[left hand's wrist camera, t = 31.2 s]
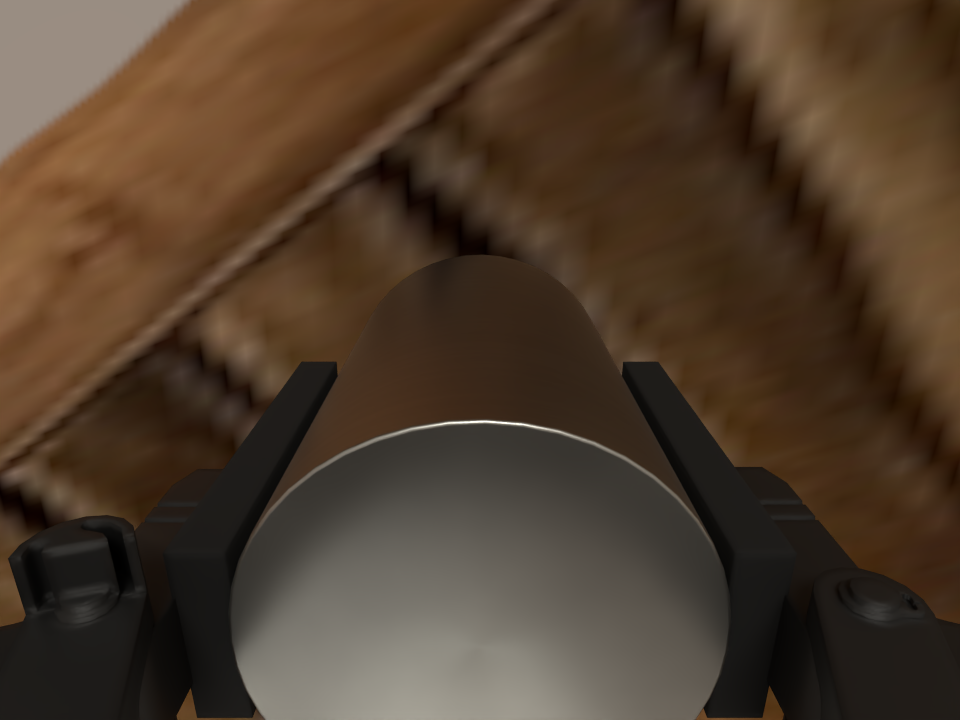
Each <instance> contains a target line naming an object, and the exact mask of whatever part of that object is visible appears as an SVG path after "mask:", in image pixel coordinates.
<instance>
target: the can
mask: <svg viewBox="0 0 960 720" xmlns="http://www.w3.org/2000/svg"><path fill="white" fill-rule="evenodd" d="M730 628H731V609H730V594H729V589H728V585H727V580H726V576H725V571H724V568H723V565H722V563H721V560H720V558H719V556H718V553H717V551H716V548H715V546H714V543H713V541H712V540H711V538H710V536H709V534H708V532H707V530H706V529H705V527H704V525H703V523H702V521H701V519H700V518H699V516H698V514H697V512H696V510H695V509H694V507H693V505H692V503H691V501H690V499H689V498H688V496H687V494H686V492H685V490H684V488H683V487H682V485H681V483H680V481H679V479H678V478H677V476H676V474H675V472H674V470H673V468H672V467H671V465H670V463H669V461H668V459H667V457H666V456H665V454H664V452H663V450H662V448H661V447H660V445H659V443H658V441H657V439H656V437H655V436H654V434H653V432H652V430H651V428H650V426H649V425H648V423H647V421H646V419H645V417H644V415H643V414H642V412H641V410H640V408H639V406H638V405H637V403H636V401H635V399H634V397H633V395H632V394H631V392H630V390H629V388H628V386H627V384H626V383H625V381H624V379H623V377H622V375H621V374H620V372H619V370H618V368H617V366H616V364H615V363H614V361H613V359H612V357H611V355H610V353H609V352H608V350H607V348H606V346H605V344H604V343H603V341H602V339H601V337H600V335H599V333H598V332H597V330H596V328H595V326H594V324H593V322H592V321H591V319H590V317H589V316H588V314H587V312H586V311H585V309H584V307H583V306H582V305H581V303H580V302H579V301H578V300H577V299H576V297H575V296H574V295H573V294H572V293H571V292H570V291H569V290H568V289H567V288H566V287H565V286H564V285H563V284H561V283H560V282H559V281H557V280H556V279H555V278H553V277H552V276H550V275H549V274H547V273H545V272H544V271H542V270H540V269H538V268H536V267H534V266H532V265H529V264H526V263H523V262H521V261H518V260H514V259H510V258H505V257H501V256H490V255H469V256H461V257H455V258H449V259H446V260H443V261H439V262H436V263H433V264H431V265H429V266H426V267H424V268H422V269H420V270H418V271H416V272H415V273H413V274H411V275H410V276H408V277H407V278H405V279H404V280H402V281H401V282H400V283H399V284H398V285H397V286H395V287H394V288H393V289H392V290H391V291H390V292H389V293H388V294H387V295H386V296H385V297H384V299H383V300H382V301H381V302H380V303H379V305H378V306H377V308H376V309H375V311H374V312H373V314H372V315H371V317H370V319H369V321H368V322H367V324H366V326H365V328H364V330H363V331H362V333H361V335H360V337H359V339H358V341H357V342H356V344H355V346H354V348H353V350H352V351H351V353H350V355H349V357H348V359H347V361H346V362H345V364H344V366H343V368H342V370H341V371H340V373H339V375H338V377H337V379H336V381H335V382H334V384H333V386H332V388H331V390H330V391H329V393H328V395H327V397H326V399H325V401H324V402H323V404H322V406H321V408H320V410H319V411H318V413H317V415H316V417H315V419H314V420H313V422H312V424H311V426H310V428H309V430H308V431H307V433H306V435H305V437H304V439H303V440H302V442H301V444H300V446H299V448H298V450H297V451H296V453H295V455H294V457H293V459H292V460H291V462H290V464H289V466H288V468H287V470H286V471H285V473H284V475H283V477H282V479H281V480H280V482H279V484H278V486H277V488H276V490H275V491H274V493H273V495H272V497H271V499H270V500H269V502H268V504H267V506H266V508H265V510H264V511H263V513H262V515H261V517H260V519H259V520H258V522H257V524H256V526H255V528H254V529H253V531H252V533H251V535H250V537H249V539H248V541H247V543H246V546H245V548H244V550H243V552H242V554H241V556H240V558H239V561H238V564H237V568H236V571H235V575H234V579H233V582H232V586H231V594H230V603H229V629H230V642H231V646H232V651H233V655H234V659H235V663H236V667H237V670H238V672H239V674H240V677H241V679H242V682H243V684H244V687H245V689H246V691H247V693H248V695H249V696H250V698H251V700H252V701H253V703H254V705H255V706H256V708H257V710H258V712H259V713H260V714H261V715H262V717H263V718H264V719H265V720H696V718H697V717H698V715H699V714H700V712H701V710H702V709H703V707H704V706H705V704H706V703H707V701H708V700H709V698H710V696H711V694H712V692H713V690H714V688H715V686H716V683H717V681H718V679H719V677H720V675H721V672H722V668H723V665H724V661H725V658H726V654H727V651H728V644H729V636H730Z"/></svg>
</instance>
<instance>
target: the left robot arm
mask: <svg viewBox="0 0 960 720" xmlns="http://www.w3.org/2000/svg"><path fill="white" fill-rule="evenodd" d="M337 377H338V375H337V363H336V362H301V363H300V365H299V366H298V368H297V369H296V370H295V372H294V373H293V374H292V376H291V377H290V379H289V380H288V381H287V383H286V384H285V385H284V387H283V388H282V390H281V391H280V392H279V394H278V395H277V396H276V398H275V399H274V401H273V402H272V403H271V405H270V406H269V407H268V409H267V410H266V412H265V413H264V414H263V416H262V417H261V418H260V420H259V421H258V423H257V424H256V425H255V427H254V428H253V429H252V431H251V432H250V434H249V435H248V436H247V438H246V439H245V440H244V442H243V443H242V445H241V446H240V447H239V449H238V450H237V451H236V453H235V454H234V456H233V457H232V458H231V460H230V461H229V462H228V464H227V465H226V467H225V468H224V469H198V470H196V471H194V472H193V473H191V474H190V475H188V476H186V477H185V478H183V479H182V480H180V481H179V482H177V483H175V484H174V485H173V486H172V487H171V488H170V489H169V491H168V492H167V493H166V494H165V495H164V497H163V498H162V499H161V500H160V501H159V503H158V507H154V509H153V510H152V511H151V512H150V513H149V515H148V516H147V517H146V518H145V523H141V524H140V525H139V527H138V528H137V529H136V530H135V531H134V527H133V525H132V524H130V523H129V522H128V521H126V520H125V519H124V518H119V517H114V516H109V515H102V516H87V517H82V518H78V519H74V520H70V521H66V522H62V523H60V524H57V525H55V526H53V527H50V528H48V529H46V530H43V531H41V532H39V533H37V534H36V535H34V536H33V537H31V538H30V539H28V540H27V541H25V542H24V543H22V544H21V545H20V546H19V547H18V548H17V549H16V550H15V551H14V552H13V554H12V555H11V556H10V557H9V558H8V560H9V563H10V566H11V569H12V572H13V576H14V579H15V582H16V585H17V588H18V591H19V595H20V598H21V601H22V604H23V607H24V610H25V614H26V616H25V618H24V621H22V622H19V623H15V624H11V625H7V626H2V627H0V720H177V716H176V715H177V713H178V711H179V709H180V707H181V706H182V704H183V702H184V700H185V698H186V696H187V694H188V692H189V690H190V688H191V691H192V695H193V700H194V705H195V709H196V714H197V718H252V717H253V715H254V712H255V709H256V706H255V705H254V703H253V701H252V700H251V698H250V696H249V695H248V693H247V691H246V689H245V687H244V684H243V682H242V679H241V677H240V674H239V672H238V670H237V667H236V663H235V659H234V655H233V651H232V646H231V642H230V629H229V603H230V594H231V586H232V582H233V579H234V575H235V571H236V568H237V564H238V561H239V558H240V556H241V554H242V552H243V550H244V548H245V546H246V543H247V541H248V539H249V537H250V535H251V533H252V531H253V529H254V528H255V526H256V524H257V522H258V520H259V519H260V517H261V515H262V513H263V511H264V510H265V508H266V506H267V504H268V502H269V500H270V499H271V497H272V495H273V493H274V491H275V490H276V488H277V486H278V484H279V482H280V480H281V479H282V477H283V475H284V473H285V471H286V470H287V468H288V466H289V464H290V462H291V460H292V459H293V457H294V455H295V453H296V451H297V450H298V448H299V446H300V444H301V442H302V440H303V439H304V437H305V435H306V433H307V431H308V430H309V428H310V426H311V424H312V422H313V420H314V419H315V417H316V415H317V413H318V411H319V410H320V408H321V406H322V404H323V402H324V401H325V399H326V397H327V395H328V393H329V391H330V390H331V388H332V386H333V384H334V382H335V381H336V379H337ZM622 377H623V379H624V381H625V383H626V384H627V386H628V388H629V390H630V392H631V394H632V395H633V397H634V399H635V401H636V403H637V405H638V406H639V408H640V410H641V412H642V414H643V415H644V417H645V419H646V421H647V423H648V425H649V426H650V428H651V430H652V432H653V434H654V436H655V437H656V439H657V441H658V443H659V445H660V447H661V448H662V450H663V452H664V454H665V456H666V457H667V459H668V461H669V463H670V465H671V467H672V468H673V470H674V472H675V474H676V476H677V478H678V479H679V481H680V483H681V485H682V487H683V488H684V490H685V492H686V494H687V496H688V498H689V499H690V501H691V503H692V505H693V507H694V509H695V510H696V512H697V514H698V516H699V518H700V519H701V521H702V523H703V525H704V527H705V529H706V530H707V532H708V534H709V536H710V538H711V540H712V541H713V543H714V546H715V548H716V551H717V553H718V556H719V558H720V560H721V563H722V565H723V568H724V571H725V576H726V580H727V585H728V589H729V594H730V609H731V628H730V636H729V644H728V651H727V654H726V658H725V661H724V665H723V668H722V672H721V675H720V677H719V679H718V681H717V683H716V686H715V688H714V690H713V692H712V694H711V696H710V698H709V700H708V701H707V703H706V704H705V706H704V707H703V708H704V711H705V713H706V716H707V718H762V717H763V712H764V707H765V703H766V698H767V693H768V689H769V685H770V687H771V689H772V691H773V693H774V695H775V697H776V699H777V701H778V703H779V705H780V707H781V709H782V711H783V713H784V716H783V720H960V624H957V623H953V622H948V621H944V620H941V619H937V618H936V617H935V615H934V613H933V612H932V611H931V609H930V608H929V607H928V605H927V604H926V603H925V601H924V600H923V599H922V598H921V597H919V596H918V595H917V594H915V593H914V592H913V591H911V590H910V589H909V588H907V587H906V586H905V585H903V584H900V583H898V582H896V581H894V580H892V579H890V578H888V577H886V576H884V575H881V574H877V573H874V572H870V571H867V570H863V569H859V568H858V567H857V566H856V565H855V563H854V562H853V561H852V560H851V559H850V557H849V556H848V555H847V554H846V553H845V552H844V550H843V549H842V548H841V547H840V546H839V544H838V543H837V542H836V541H835V540H834V538H833V537H832V536H831V535H830V534H829V532H828V531H827V530H826V529H825V528H824V526H823V525H822V524H821V523H820V522H819V521H818V520H815V516H814V515H813V513H812V512H811V511H810V510H809V509H808V507H807V506H806V505H803V504H802V500H801V499H800V498H799V497H798V495H797V494H796V493H795V492H794V491H793V490H792V488H791V487H790V486H789V485H788V484H787V483H786V482H785V481H783V480H782V479H780V478H778V477H777V476H775V475H774V474H772V473H771V472H769V471H767V470H766V469H764V468H763V467H734V466H733V464H732V463H731V462H730V460H729V459H728V457H727V456H726V455H725V453H724V452H723V451H722V449H721V448H720V446H719V445H718V444H717V442H716V441H715V440H714V438H713V437H712V435H711V434H710V433H709V431H708V430H707V429H706V427H705V426H704V424H703V423H702V422H701V420H700V419H699V418H698V416H697V415H696V413H695V412H694V411H693V409H692V408H691V407H690V405H689V404H688V402H687V401H686V400H685V398H684V397H683V396H682V394H681V393H680V391H679V390H678V389H677V387H676V386H675V385H674V383H673V382H672V380H671V379H670V378H669V376H668V375H667V374H666V372H665V371H664V369H663V368H662V367H661V365H660V364H659V363H658V362H623V371H622Z"/></svg>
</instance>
